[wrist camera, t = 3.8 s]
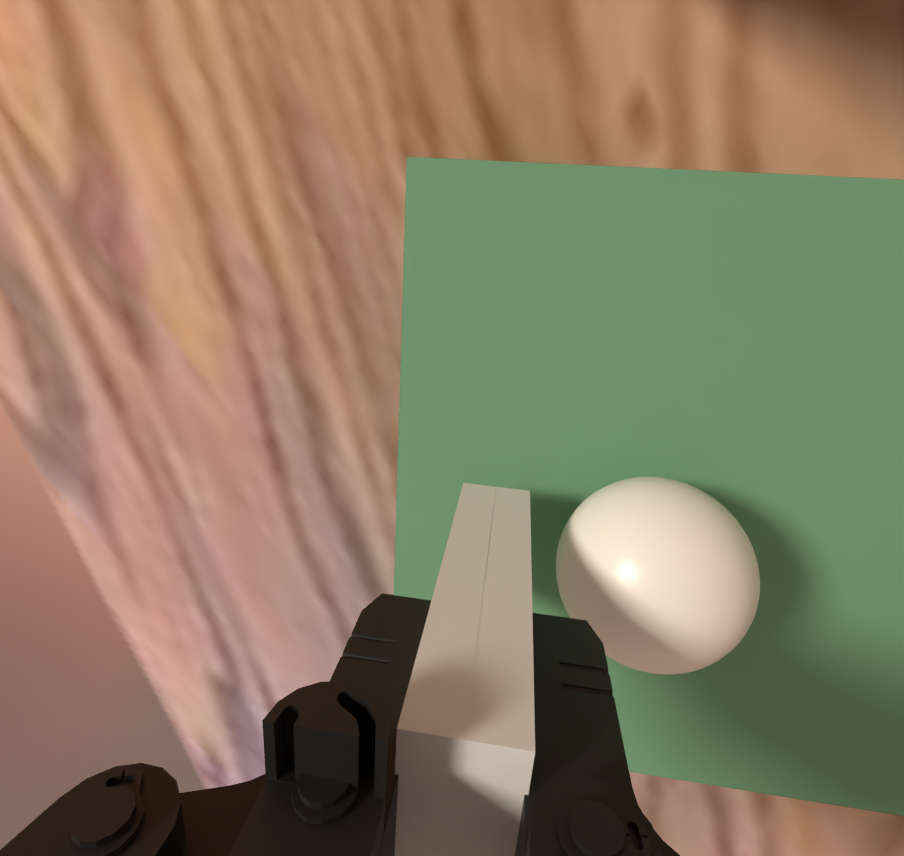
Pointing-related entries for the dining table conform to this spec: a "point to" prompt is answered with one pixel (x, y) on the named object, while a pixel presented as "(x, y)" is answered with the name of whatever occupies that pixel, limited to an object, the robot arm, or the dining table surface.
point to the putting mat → (682, 428)
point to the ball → (658, 574)
